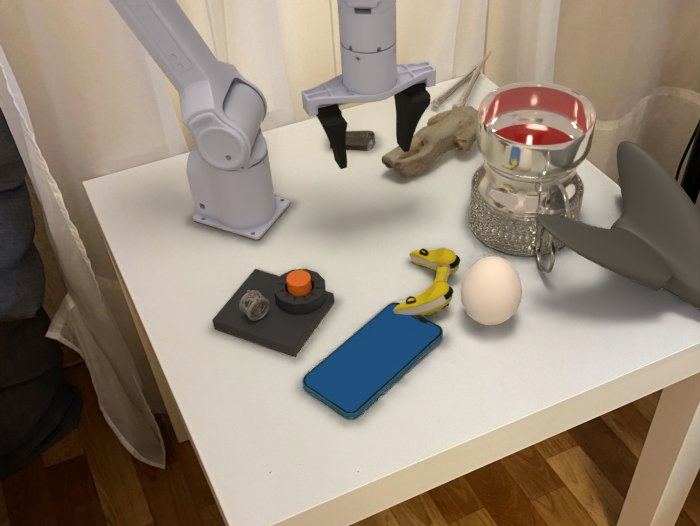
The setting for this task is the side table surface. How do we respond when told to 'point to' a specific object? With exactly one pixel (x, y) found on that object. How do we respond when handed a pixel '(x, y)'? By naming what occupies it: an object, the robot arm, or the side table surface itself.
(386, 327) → the smartphone
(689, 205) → the propeller
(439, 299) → the yellow curved piece
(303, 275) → the button
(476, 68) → the tweezers
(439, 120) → the sculpture
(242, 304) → the decorative ring
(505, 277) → the egg
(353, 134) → the block
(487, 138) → the silver candle holder
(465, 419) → the side table surface
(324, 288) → the push button box
